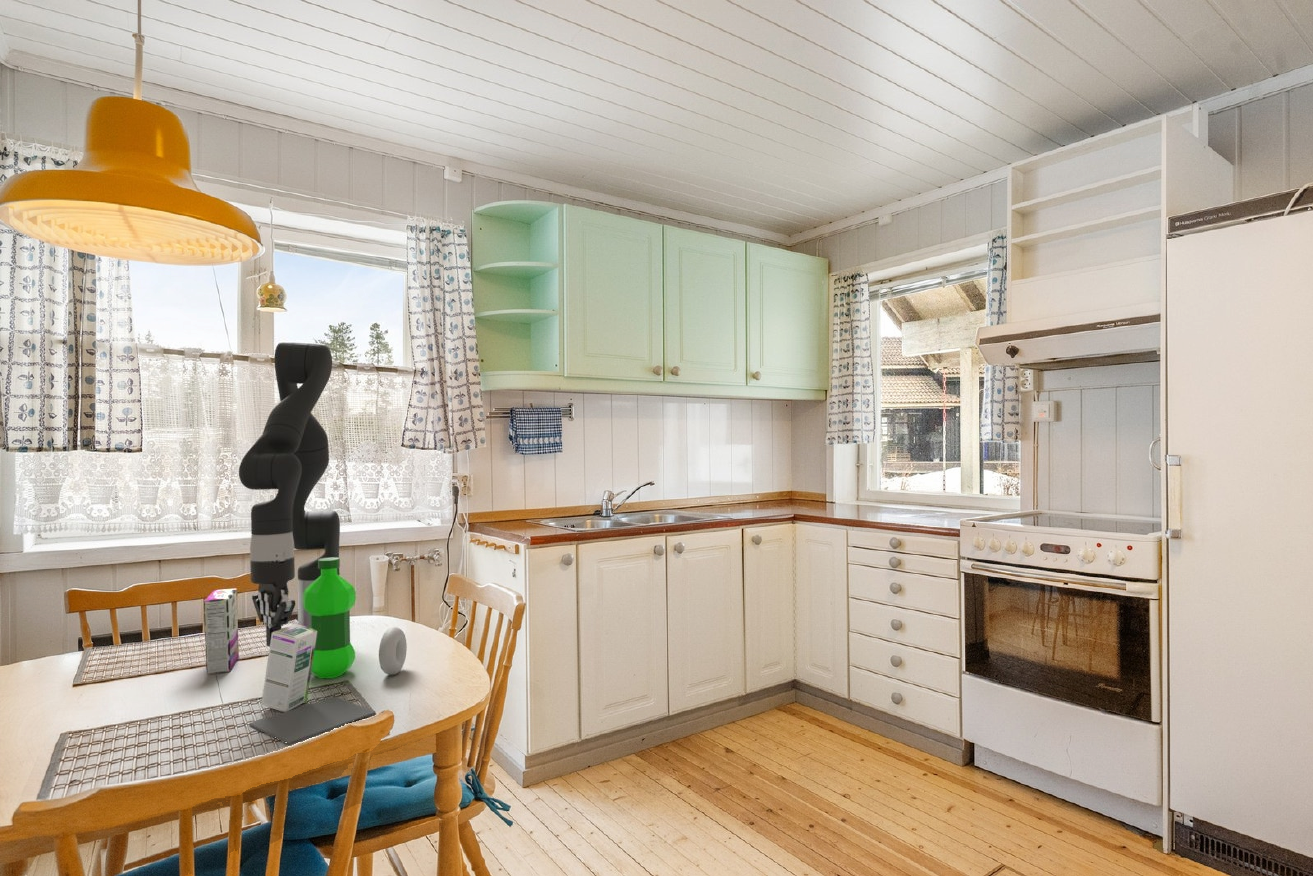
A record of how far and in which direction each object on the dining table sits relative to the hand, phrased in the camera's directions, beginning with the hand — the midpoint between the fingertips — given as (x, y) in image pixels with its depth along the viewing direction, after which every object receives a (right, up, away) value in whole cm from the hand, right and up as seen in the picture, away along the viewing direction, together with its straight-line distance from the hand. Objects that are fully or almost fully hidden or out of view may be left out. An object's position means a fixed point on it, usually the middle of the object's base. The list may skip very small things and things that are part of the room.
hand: (274, 645), depth 139 cm
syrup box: (+3, -11, -1) cm, 11 cm away
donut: (+17, -11, +17) cm, 26 cm away
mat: (+11, -11, -8) cm, 18 cm away
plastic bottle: (+3, -11, +17) cm, 20 cm away
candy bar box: (-24, -12, +23) cm, 35 cm away
